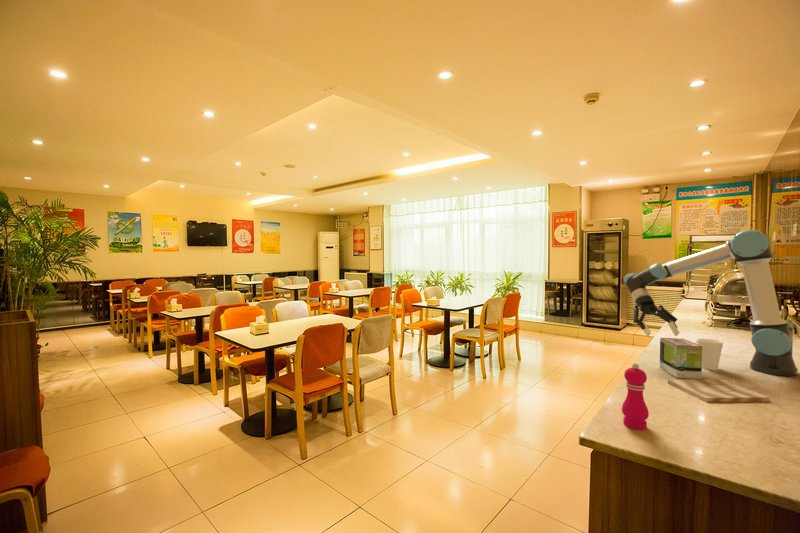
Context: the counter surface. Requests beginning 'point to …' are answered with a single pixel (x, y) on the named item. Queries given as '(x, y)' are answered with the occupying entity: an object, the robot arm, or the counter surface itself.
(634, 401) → the pepper mill
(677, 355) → the tea box
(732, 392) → the oak board
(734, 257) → the robot arm
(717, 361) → the foam cup
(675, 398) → the counter surface
